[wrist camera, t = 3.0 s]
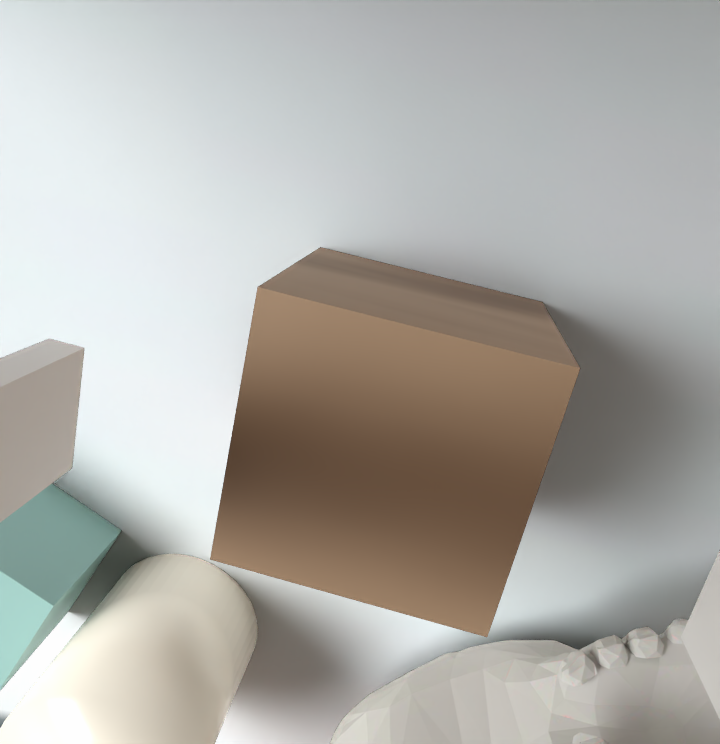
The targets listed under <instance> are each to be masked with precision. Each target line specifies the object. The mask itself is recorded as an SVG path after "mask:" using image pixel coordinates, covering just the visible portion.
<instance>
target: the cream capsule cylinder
mask: <svg viewBox="0 0 720 744" xmlns="http://www.w3.org/2000/svg"><path fill="white" fill-rule="evenodd" d="M257 635H258V625H257V619H256V614H255V611H254V608H253V606H252V604H251V602H250V600H249V598H248V596H247V595H246V593H245V592H244V590H243V589H242V588H241V587H240V585H239V584H238V583H237V582H236V581H235V580H234V579H233V578H232V577H231V576H229V575H228V574H227V573H226V572H224V571H223V570H221V569H220V568H218V567H217V566H215V565H213V564H211V563H209V562H207V561H205V560H202V559H199V558H196V557H192V556H188V555H182V554H161V555H155V556H152V557H148V558H146V559H143V560H141V561H139V562H137V563H136V564H134V565H133V566H131V567H130V568H129V569H128V570H127V571H126V572H125V573H124V574H123V575H122V577H121V578H120V579H119V580H118V582H117V583H116V584H115V585H114V587H113V588H112V589H111V590H110V591H109V593H108V594H107V595H106V596H105V598H104V599H103V600H102V601H101V603H100V604H99V605H98V606H97V607H96V609H95V610H94V611H93V612H92V614H91V615H90V616H89V617H88V619H87V620H86V621H85V622H84V624H83V625H82V626H81V627H80V628H79V630H78V631H77V632H76V633H75V635H74V636H73V637H72V638H71V640H70V641H69V642H68V643H67V645H66V646H65V647H64V648H63V649H62V651H61V652H60V653H59V654H58V656H57V657H56V658H55V659H54V661H53V662H52V663H51V664H50V666H49V667H48V668H47V669H46V670H45V672H44V673H43V674H42V675H41V677H40V678H39V679H38V680H37V682H36V683H35V684H34V685H33V687H32V688H31V689H30V690H29V691H28V693H27V694H26V695H25V696H24V698H23V699H22V700H21V701H20V703H19V704H18V705H17V706H16V708H15V709H14V710H13V711H12V712H11V714H10V715H9V716H8V717H7V719H6V720H5V721H4V723H3V725H2V727H1V728H0V744H215V742H216V739H217V737H218V735H219V732H220V730H221V727H222V725H223V723H224V720H225V718H226V715H227V713H228V711H229V708H230V706H231V704H232V701H233V699H234V696H235V694H236V692H237V689H238V687H239V684H240V682H241V680H242V677H243V675H244V673H245V670H246V668H247V665H248V663H249V661H250V658H251V656H252V653H253V651H254V649H255V645H256V642H257Z"/></svg>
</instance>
